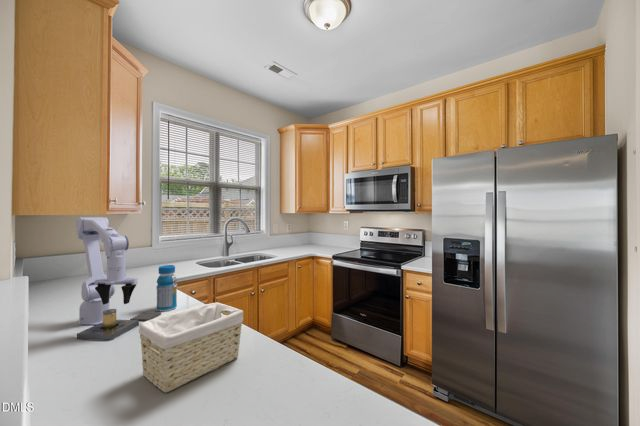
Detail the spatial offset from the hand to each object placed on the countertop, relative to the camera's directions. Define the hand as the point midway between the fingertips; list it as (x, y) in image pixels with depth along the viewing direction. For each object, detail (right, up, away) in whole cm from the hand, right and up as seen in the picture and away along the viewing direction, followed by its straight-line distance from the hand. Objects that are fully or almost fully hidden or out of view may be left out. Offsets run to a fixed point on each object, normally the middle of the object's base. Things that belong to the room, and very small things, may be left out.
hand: (116, 303), depth 102 cm
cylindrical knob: (-2, -10, -1) cm, 10 cm away
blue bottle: (+6, -11, +24) cm, 27 cm away
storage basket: (+41, -10, -24) cm, 49 cm away
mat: (+3, -10, +13) cm, 17 cm away
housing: (-2, -10, -1) cm, 10 cm away
